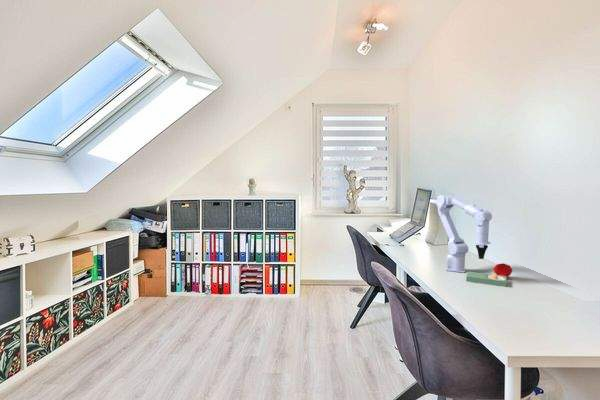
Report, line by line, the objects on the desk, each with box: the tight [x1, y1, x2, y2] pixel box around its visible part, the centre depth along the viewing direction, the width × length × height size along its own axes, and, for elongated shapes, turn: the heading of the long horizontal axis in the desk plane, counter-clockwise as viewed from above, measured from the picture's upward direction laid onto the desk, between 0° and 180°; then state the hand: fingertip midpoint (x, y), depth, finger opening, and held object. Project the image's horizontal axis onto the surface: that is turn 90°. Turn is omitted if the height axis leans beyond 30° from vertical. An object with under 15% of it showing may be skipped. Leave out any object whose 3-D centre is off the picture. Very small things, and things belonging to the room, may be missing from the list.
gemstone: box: [493, 262, 513, 279], centre depth 192 cm, size 9×9×10 cm
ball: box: [490, 274, 499, 279], centre depth 185 cm, size 4×4×4 cm
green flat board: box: [465, 271, 508, 288], centre depth 187 cm, size 18×11×2 cm, turn 62°
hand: (481, 258), depth 194 cm, fingers closed
